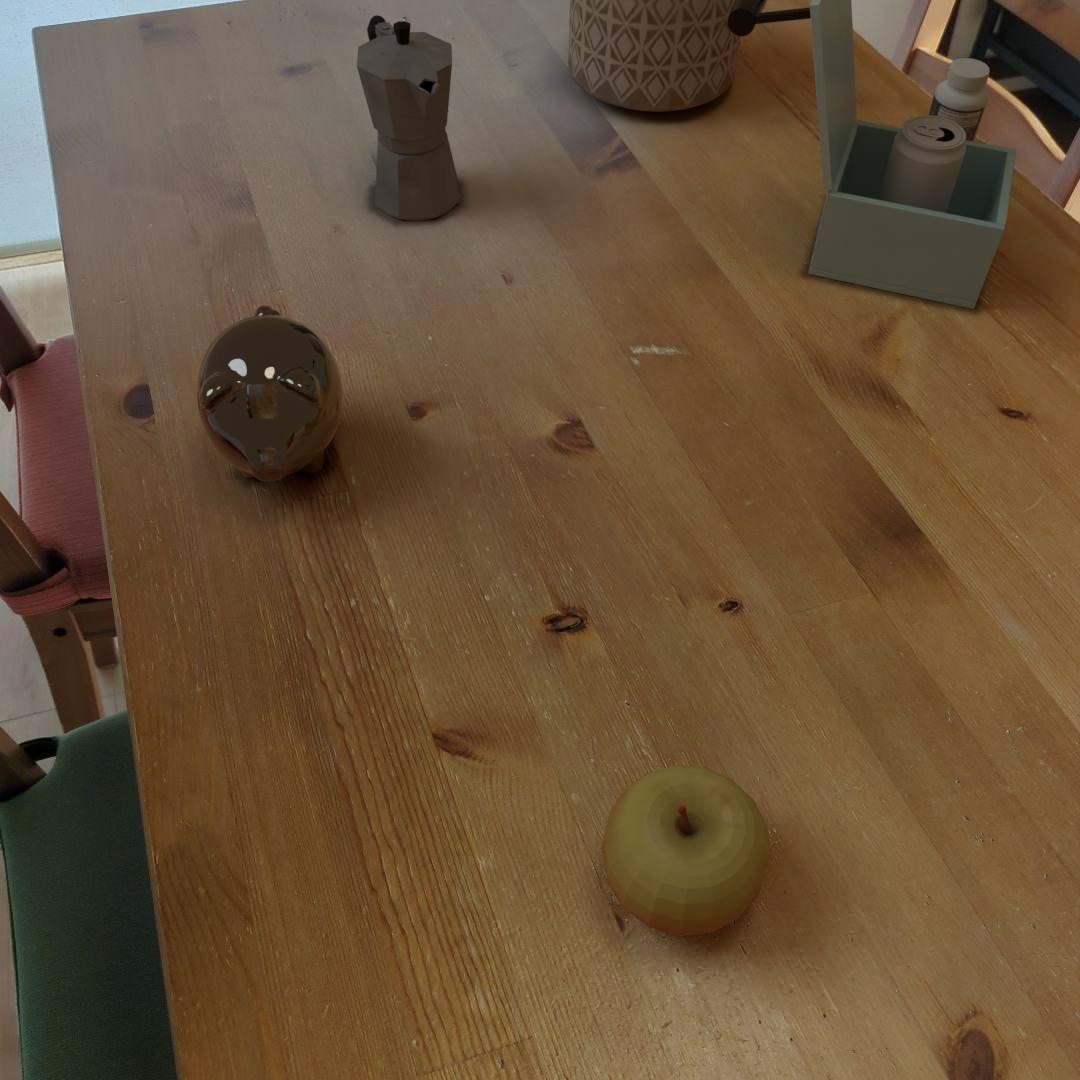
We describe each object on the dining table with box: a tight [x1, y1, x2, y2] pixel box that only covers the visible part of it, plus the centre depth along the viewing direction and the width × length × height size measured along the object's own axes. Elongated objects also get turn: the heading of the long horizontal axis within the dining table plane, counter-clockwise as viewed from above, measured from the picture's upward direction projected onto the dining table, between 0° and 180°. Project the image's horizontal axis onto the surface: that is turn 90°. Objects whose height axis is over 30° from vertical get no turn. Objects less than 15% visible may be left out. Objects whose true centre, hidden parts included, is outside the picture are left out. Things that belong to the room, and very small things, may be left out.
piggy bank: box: [195, 304, 344, 482], centre depth 87 cm, size 11×15×12 cm
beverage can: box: [878, 114, 966, 213], centre depth 104 cm, size 6×6×12 cm
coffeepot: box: [356, 14, 460, 222], centre depth 108 cm, size 15×9×18 cm, turn 26°
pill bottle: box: [928, 57, 991, 142], centre depth 117 cm, size 5×5×10 cm
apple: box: [601, 764, 771, 937], centre depth 66 cm, size 10×10×8 cm
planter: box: [567, 0, 742, 112], centre depth 123 cm, size 19×19×16 cm
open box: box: [807, 119, 1017, 310], centre depth 106 cm, size 16×14×9 cm
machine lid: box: [728, 0, 858, 191], centre depth 100 cm, size 16×14×9 cm
